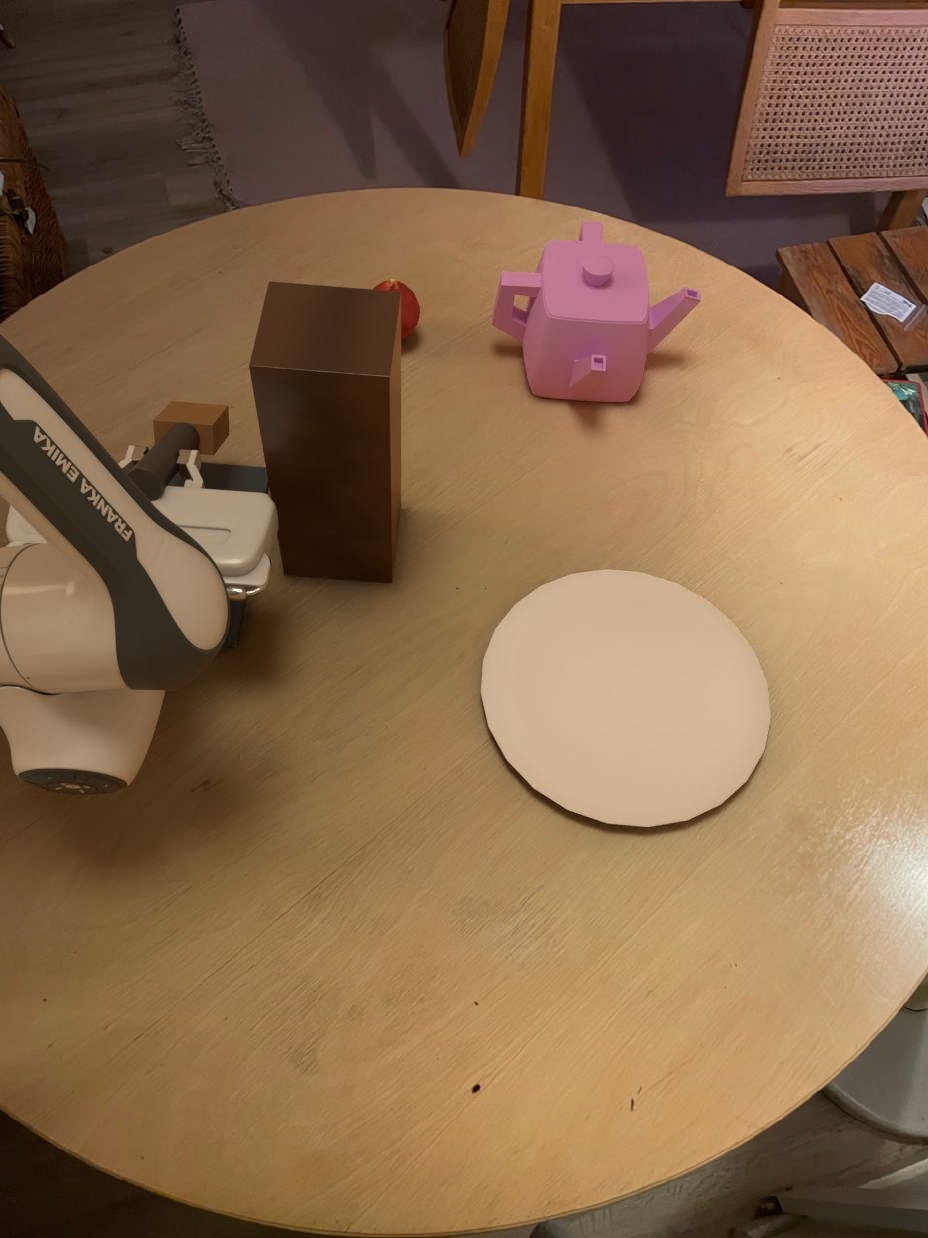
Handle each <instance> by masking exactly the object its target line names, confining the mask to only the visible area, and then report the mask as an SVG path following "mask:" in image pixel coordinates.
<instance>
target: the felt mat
mask: <svg viewBox="0 0 928 1238" xmlns="http://www.w3.org/2000/svg"><path fill="white" fill-rule="evenodd" d="M199 473H200V475H201V477H202V479H203V482H204V486H205V489H216V490H229V491H243V492H257V493H265V494H267V495H268V492H269V482H268V477H267V471H266V466H253V465H242V464H241V465H240V464H228V463H227V464H226V463H216V462H202V461H201V467H200V471H199ZM186 480H190V478H182V477H180V475H179V471H178V473H177V474H176V475H175V476H174V478H173V479H172V480H171V481H170V483H169V484H168V485H167V486H175V487H184V485H185V481H186ZM229 602H230V625H229V630H228V634H227V637H226V639H225V641H224V643H223V645H222V647H225V648H237V644H238V639H239V634H240V629H241V624H242V619H243V614H244V609H245V605H246V600H240V601H235V600H229Z"/></svg>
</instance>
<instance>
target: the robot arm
mask: <svg viewBox="0 0 928 1238" xmlns="http://www.w3.org/2000/svg"><path fill="white" fill-rule="evenodd" d="M149 450H150V449H149V446H143V445H133V444H132V445H131V444H129V445H128V447H127V450H126V454H125V457H124V459H121V460H120V461H119V462H117V461H116V459H114V457H113V456H112V455H111V454H110V453H109V452H108V451H107V449H106V448H105V447H104V445H102V443H101V442H100V441H99V440H98V439H97V437H96V436H95V435H94V434H93V433H92V432H91V431H90V430H89V428H88V427H87V426H86V425H85V424H84V422H83V421H81V419H80V418H79V417H78V416H77V414H75V412H74V411H73V410H72V409H71V408H70V406H69V405H68V404H67V403H66V402H65V401H64V400H63V398H62V397H61V396H60V395H59V394H58V392H57V391H55V389H54V388H53V387H52V385H50V384H49V382H48V381H47V380H46V379H45V378H44V377H43V375H42V374H40V372H39V371H38V370H37V369H36V368H35V367H34V366H33V365H32V363H30V361H29V360H28V359H27V358H26V357H25V356H24V355H23V354H22V353H21V352H20V351H19V350H18V349H17V348H16V347H14V345H13V344H12V343H11V342H10V341H8V340H7V338H5V336H3V335H2V334H0V496H1V497H2V498H3V499H4V500H5V501H6V502H7V503H8V504H9V509H8V513H7V518H6V524H5V533H6V534H5V535H6V537H7V540H8V541H9V543H8V544H7V545H6V546H3V547H0V727H1V730H2V731H3V732H4V734H5V736H6V740H7V741H8V745H9V750H10V757H11V758H10V759H11V765H12V769H13V772H14V774H15V775H16V777H17V778H18V779H19V780H21V781H22V782H24V783H25V784H26V785H28V786H30V787H32V788H34V789H37V790H41V791H44V792H49V793H53V794H57V795H58V794H59V795H60V794H64V795H65V794H66V795H72V796H89V795H91V796H94V795H102V794H103V795H105V794H111V793H116V792H118V791H120V790H122V789H124V788H126V787H128V786H129V785H130V784H131V783H132V782H133V780H135V778H136V777H137V774H138V772H139V771H140V769H141V767H142V765H143V763H144V760H145V758H146V755H147V753H148V751H149V748H150V746H151V743H152V740H153V737H154V734H155V731H156V728H157V725H158V721H159V717H160V713H161V710H162V706H163V702H164V699H165V694H166V691H180V690H183V689H185V688H186V687H188V685H190V684H191V683H192V682H193V681H194V680H195V679H197V678H198V677H199V676H200V675H201V673H203V671H204V670H206V668H207V667H208V666H209V665H210V664H211V663H212V661H213V660H214V658H215V657H216V656H217V655H218V653H219V651H220V650H221V648H222V647H223V646H222V645H223V643H224V641H225V639H226V637H227V634H228V630H229V625H230V602H229V600H235V601H240V600H245V601H246V600H247V598H248V597H251V596H255V595H258V594H260V593H261V592H262V591H264V590H266V588H267V587H268V585H269V582H270V579H271V573H272V568H273V563H272V560H271V555H272V553H273V549H274V547H275V543H276V540H277V537H278V536H277V532H278V526H279V525H278V514H277V509H276V505H275V504H274V502H273V501H272V500H271V496H269V494H268V493H267V494H265V493H257V492H243V491H229V490H216V489H205V486H204V482H203V479H202V477H201V475H200V473H199V471H200V467H201V462H202V458H201V454H199V451H198V450H186V449H180V451H179V455H180V456H179V457H178V458H177V462H176V464H177V466H178V469H179V475H180V477H182V478H190V480H186V481H185V485H184V487H175V486H165V488H164V489H163V491H162V492H161V494H160V495H159V496H158V497H157V498H156V499H155V500H153V501H150V500H149V499H148V498H147V497H146V496H145V495H144V494H143V492H142V491H141V490H140V489H139V488H138V487H137V485H136V484H135V483H134V482H133V481H132V480H131V478H130V477H129V476H128V475H127V474H128V473H129V472H130V471H131V469H132V468H133V467H134V466H135V465H136V464H137V463H138V462H139V461H140V460H141V459H142V458H143V457H144V455H145V454H146V453H147V452H148V451H149Z"/></svg>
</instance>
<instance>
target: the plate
mask: <svg viewBox="0 0 928 1238" xmlns="http://www.w3.org/2000/svg"><path fill="white" fill-rule="evenodd" d="M481 669H482V670H481V681H480V682H481V684H480V697H481V701H482V706H483V709H484V714H485V718H486V719H485V720H486V723H487V727H488V730H489V732H490V733H491V734H492V737H493V738H494V739H493V740H495V742H496V744H497V746H498V748H499V750H500V752H501V753H502V755H503V757H504V759H505V761H506V762H507V763H508V764H509V765H510V766H511V767H512V768H513V769H514V770H515V771H516V772H517V774H519V776H520V777H521V778H522V779H523V780H524V781H525V782H526V783H527V784H528V785H529V786H530V787H531V788H532V789H533V790H534V791H536V792H538V793H539V794H541V795H542V796H543V797H545V798H547V799H548V800H550V801H551V802H553V803H554V804H556V805H558V806H559V807H561V808H563V809H564V810H566V811H567V812H569V813H573V814H576V815H579V816H582V817H585V818H588V819H591V820H594V821H596V822H598V823H602V824H606V825H612V826H623V827H634V828H635V827H636V828H647V829H649V828H653V827H659V826H667V825H672V824H678V823H683V822H688V821H690V820H692V819H694V818H696V817H698V816H701V815H703V814H704V813H707V812H709V811H711V810H713V809H715V808H718V807H719V806H721V805H722V804H723V803H724V802H726V801H727V800H728V799H729V798H730V797H731V796H732V795H733V794H734V793H735V792H737V791H738V790H739V789H740V788H741V787H742V786H743V785H744V784H746V783H747V782H748V780H749V779H750V777H751V775H752V774H753V772H754V769H755V768H756V767H757V765H758V763H759V761H760V760H761V758H762V756H763V754H764V753H765V749H766V744H767V740H768V735H769V730H770V725H771V720H772V714H771V713H772V711H771V705H770V704H771V703H770V702H771V701H770V693H769V684H768V681H767V679H766V677H765V673H764V671H763V669H762V665H761V664H760V660H759V658H758V656H757V653H756V652H755V649H754V648H753V647H752V646H751V645H750V643H749V642H748V640H747V639H746V638H745V636H744V635H743V633H742V632H741V630H740V629H739V628H738V627H737V625H736V624H735V622H733V621H732V620H731V618H729V617H728V616H727V615H725V614H724V613H723V612H722V611H721V610H720V609H718V608H717V607H716V606H715V605H714V604H713V603H711V602H710V601H709V600H708V599H706V598H705V597H702V596H701V595H699V594H698V593H696V592H693V590H690V589H689V588H686V587H685V586H683V585H681V584H679V583H677V582H675V581H672V580H669V579H665V578H662V577H659V576H655V575H652V574H648V573H645V572H642V571H632V570H620V569H608V568H605V569H598V570H590V571H582V572H574V573H570V574H567V575H565V576H562V577H559V578H557V579H554V580H552V581H549V582H547V583H544V584H542V585H539V586H538V587H537V588H535V589H534V590H533V591H532V592H530V593H529V594H527V595H525V596H524V597H523V598H522V599H521V600H519V601H517V602H515V604H513V606H512V607H511V609H510V610H509V611H508V612H507V614H505V616H504V617H503V618H502V620H500V622H499V623H498V625H497V626H496V627H495V628H494V631H493V632H492V636H491V638H490V640H489V643H488V645H487V649H486V651H485V653H484V656H483V659H482V668H481Z"/></svg>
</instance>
